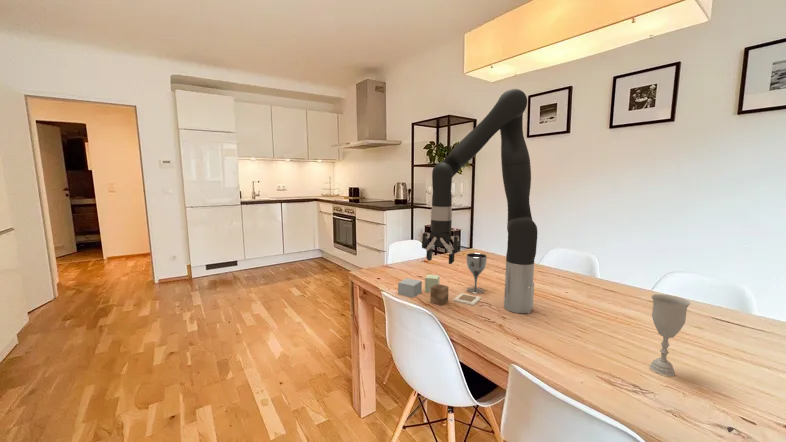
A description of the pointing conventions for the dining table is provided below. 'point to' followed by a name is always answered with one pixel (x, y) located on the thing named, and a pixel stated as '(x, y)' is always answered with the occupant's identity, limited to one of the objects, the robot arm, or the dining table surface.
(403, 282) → the grey base block
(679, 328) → the chalice
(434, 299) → the walnut block
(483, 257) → the wine glass
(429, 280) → the sage block
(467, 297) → the tile
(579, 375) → the dining table surface
